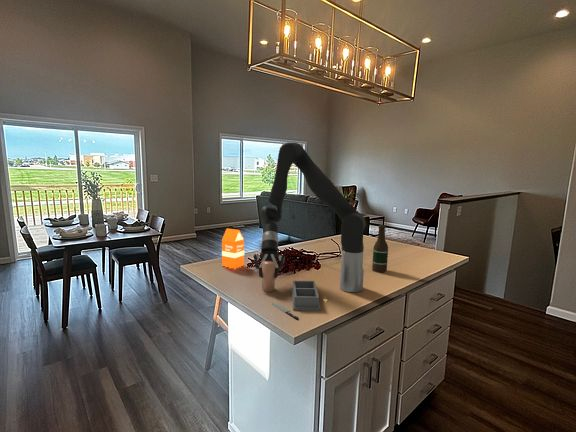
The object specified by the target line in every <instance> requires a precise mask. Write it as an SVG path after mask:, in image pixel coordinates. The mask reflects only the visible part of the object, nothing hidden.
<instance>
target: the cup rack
mask: <svg viewBox="0 0 576 432" xmlns="http://www.w3.org/2000/svg"><path fill="white" fill-rule="evenodd" d="M291 297H292V298H291V301H292V310H293V311H317V312H318V311H321V305H320V296H319V292H318V289H317V286H316V283H315V280H292V287H291Z"/></svg>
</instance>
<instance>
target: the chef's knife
mask: <svg viewBox="0 0 576 432" xmlns="http://www.w3.org/2000/svg"><path fill="white" fill-rule="evenodd" d="M270 304H271V305H272V306H274V307H275V308H277V309H278V310H280V311H282V312H283V313H285V314H286V315H288V316H290V317H291V318H293V319H294V320H297V321H298V320H299V319H300V318H299V316H296V315H294V314H293V313H291V309H289V308H286V307H285V306H282V305H280V304H278V303H274V302H270Z"/></svg>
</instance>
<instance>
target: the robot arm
mask: <svg viewBox="0 0 576 432" xmlns="http://www.w3.org/2000/svg"><path fill="white" fill-rule="evenodd" d="M292 165H294V166H295V167H297V169H298V170H299V171H300V172H301V173H302V175H303V177H304V178H305V181H306V183H307V186H308V188H309V189H310V191H311V192H312V193H313V194H314V196H315V197H316V198H317V199H318V200H319V201H320V202H321V203H323V204H324V205H325V206H327V207H328V208H330V209H331V210H332V211H333V212H334V213H335V214H336V215H337V216H338V217H339V218H340V220H341V226H340V227H341V229H340V230H341V231H340V244H341V255H340V256H341V259H340V278H339V281H340V282H339V289H340V290H341V291H343V292H347V293H358V292H363V291H364V289H363V288H364V274H365V273H364V272H365V270H364V268H363V264H364V250H365V249H364V231H365V229H366V227H367V222H366V218H365V217H364V216H363V215H362V214H361V213H360V212H359V211H358V210H357V209H356V208H355V207H354V206H353V205H352V204H351V203H350V202H348V200H347V199H346V198H345V196H344V195H343V194H342V193H341V192H340V190H339V189H338V187H336V185H335V184H334V183H333V181H332V180H331V179H330V178H329V177H328V176H327V174H325V173H324V172H323V171H322V169H320V167H319V166H318V165H317V164H316V163H315V162H314V161H313V159H312V157H310V156H309V154H308V153H307V151H306V150H305V149H304V147H303V146H302V145H301V144H300V143H298V142H285V143H283V144H281V146H280V147H279V150H278V155H277V163H276V168H275V174H274V180H273V183H272V187H271V189H270V192H269V194H268V202H269V204H271V205H273V206H275V207H271V206H269V205H268V206H267V205H264V206H263V207H261V209H260V211H259V217H260V221H261V225H262V236H261V244H260V245H261V246H260V247H261V248H260V254H253V262H254V267H255V270H258V277H259V279H262V262H263V261H274V262H275V279H277V278H278V277H279V270H283V268H284V263H285V257H286V256H285V254H282V255H281V254H279V230H278V229H279V226H278V224H277V223H279V222H280V221H282V215H283V203H284V199H285V196H286V193H287V190H288V176H289V172H290V169H291V167H292ZM278 259H279V261H280V263H279V265H278V263H277V262H278V261H277V260H278ZM259 260H261V262H260V264H259V263H258V261H259Z"/></svg>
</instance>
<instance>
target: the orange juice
mask: <svg viewBox="0 0 576 432" xmlns="http://www.w3.org/2000/svg"><path fill="white" fill-rule="evenodd" d="M221 257H222V258H221V260H222V261H221V262H222V263H221V264H222V265H221V267H222V266H225V267H224V268H226V267H229V268H228V269H231V268H234V269H233V270H237V269H236V268H238V267H240V268H242V267H241V266H243V265H244V266H245V239H244V237H243V234H242V233H241V231H240V229H234V228H226V229H225V232H224V233H223V237H222V239H221ZM244 266H243V267H244ZM238 269H239V268H238Z"/></svg>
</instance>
